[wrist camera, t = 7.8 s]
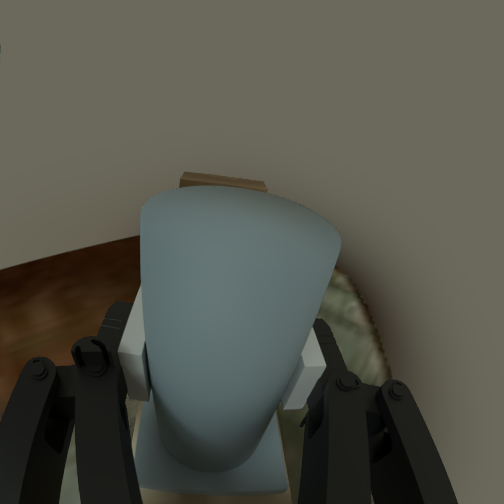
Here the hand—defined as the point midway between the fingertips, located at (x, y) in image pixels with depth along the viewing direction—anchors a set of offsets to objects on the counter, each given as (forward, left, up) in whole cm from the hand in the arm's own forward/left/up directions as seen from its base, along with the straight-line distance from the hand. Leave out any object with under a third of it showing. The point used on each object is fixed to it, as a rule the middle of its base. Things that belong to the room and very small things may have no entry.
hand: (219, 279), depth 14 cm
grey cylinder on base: (+3, -5, -7) cm, 8 cm away
